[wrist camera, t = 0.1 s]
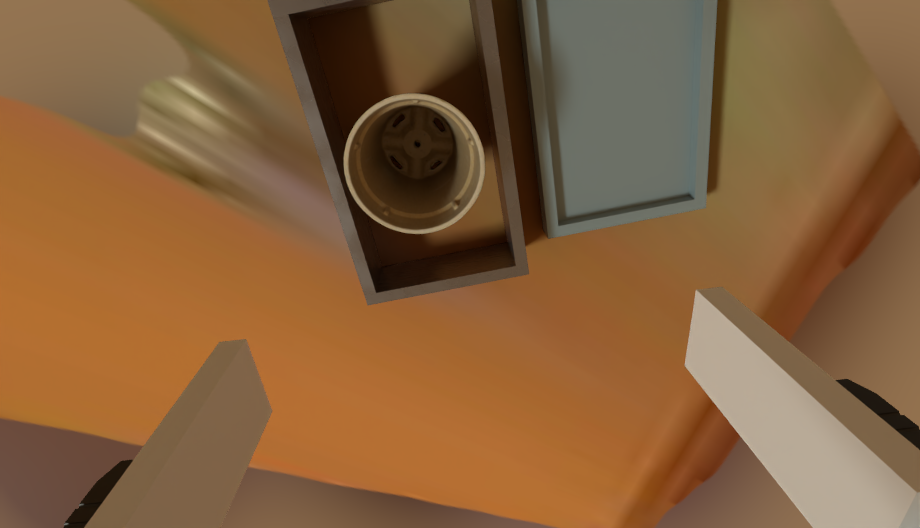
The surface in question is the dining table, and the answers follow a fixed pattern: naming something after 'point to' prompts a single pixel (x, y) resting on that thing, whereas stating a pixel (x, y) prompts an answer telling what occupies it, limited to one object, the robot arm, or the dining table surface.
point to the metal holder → (380, 284)
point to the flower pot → (414, 163)
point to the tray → (618, 108)
